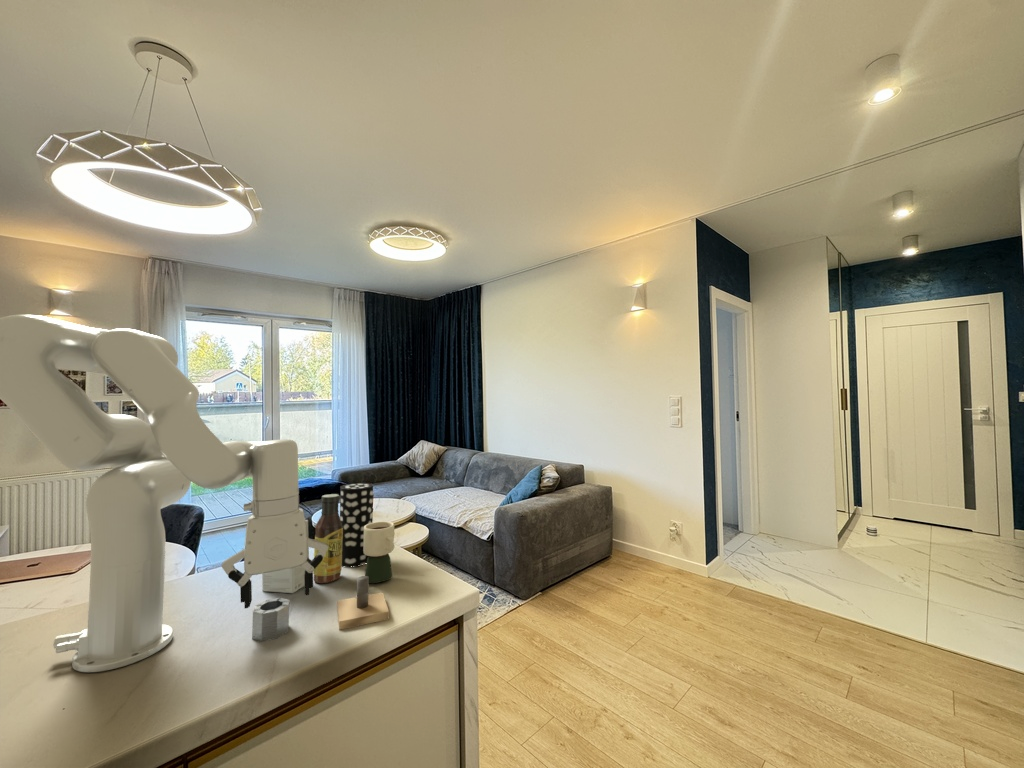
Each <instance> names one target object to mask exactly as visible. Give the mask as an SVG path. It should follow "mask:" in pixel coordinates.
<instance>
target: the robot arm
mask: <svg viewBox="0 0 1024 768" xmlns="http://www.w3.org/2000/svg"><path fill="white" fill-rule="evenodd" d="M178 362H179V355H178V353H177V350H176V348H175V347H174V346H173V345H172V344H171V343H170V342H169V340H166V339H165V338H164V337H161V336H158V335H154V334H150V333H147V332H144V331H141V330H137V329H132V328H114V329H110V330H108V329H102V328H95V327H89V326H86V325H81V324H77V323H73V322H69V321H66V320H61V319H57V318H52V317H50V316H49V317H47V316H43V315H35V314H12V315H11V314H10V315H8V316H7V315H6V316H2V317H0V400H1V401H2V403H4V404H5V405H6V406H7V407H8V408H9V409H10V410H11V411H12V412H13V413H14V414H15V415H16V416H17V417H18V418H19V420H20V421H21V422H22V423H23V424H24V425H25V426H26V428H27V429H28V430H29V431H30V432H31V433H32V434H33V435H34V437H36V439H38V441H39V442H40V443H41V444H42V445H43V446H44V448H46V449H47V451H48V452H49V453H50V454H51V455H52V456H53V457H54V458H55V459H56V461H58V463H60V464H61V465H62V466H64V467H65V468H67V469H70V470H72V471H81V472H84V471H85V472H86V471H94V470H100V469H104V468H105V469H106V468H111V469H110V470H108V471H107V472H105V473H102V474H101V475H100V476H99V477H97V479H95V480H94V482H93V483H92V484H91V486H90V487H89V489H88V492H87V494H86V497H85V499H86V500H85V509H86V510H85V511H86V513H87V514H86V515H87V519H88V524H89V530H90V571H89V572H90V574H89V592H88V593H89V594H88V614H87V616H88V617H87V628H84V629H83V630H81V631H79V632H70V633H65V634H58V635H57V636H56V637H55V638H54V641H53V649H55V653H56V654H60V653H65V652H68V651H69V652H70V651H75V653H74V655H73V656H72V660H71V661H72V662H71V666H72V668H73V669H74V670H75V671H77V672H81V673H97V672H98V673H101V672H106V671H110V670H114V669H115V670H116V669H119V668H122V667H125V666H129V665H132V664H134V663H137V662H139V661H142V660H144V659H146V658H149V657H150V656H152V655H154V654H156V653H158V652H160V651H161V650H162V649H163V648H165V647H166V646H167V645H168V644H170V643H171V641H172V639H173V637H174V628H173V627H172V626H171V625H168V624H165V623H164V622H163V619H164V618H163V617H164V598H165V597H164V596H165V594H164V593H165V575H166V574H165V573H166V572H165V568H166V542H167V541H166V539H167V538H166V528H165V524H164V521H163V518H162V512H161V509H164V508H166V507H169V506H171V505H173V504H175V503H176V502H178V501H180V500H181V499H183V498H184V496H186V494H187V493H188V491H189V489H190V486H191V483H192V484H195V485H196V486H198V487H199V488H204V489H208V490H216V489H217V490H218V489H222V488H225V487H228V486H230V485H232V484H234V483H236V482H240V481H242V480H245V479H249V478H252V500H251V501H250V502H248V503H244V504H243V512H250V513H252V515H251V516H249V517H248V518H247V523H246V529H245V537H244V549H241V550H240V551H238V552H236V553H234V554H233V555H231V556H229V558H226V559H225V560H224V561H223V562H222V564H221V568H222V570H223V571H224V573H225V574H226V575H227V577H228V578H229V580H231V581H233V582H234V583H236V584H237V586H238V587H240V603H242V604H243V603H244V609H248V608H249V607H250V606H251V604H252V601H253V600H252V599H253V598H252V597H253V596H252V592H253V591H252V589H253V587H252V586H253V585H252V580H251V578H252V576H257V575H262V574H264V573H270V572H275V571H280V570H286V569H291V568H295V567H299V566H301V567H303V568H304V569H305V574H304V578H305V586H304V596H309V595H310V589H313V588H314V574H313V571H314V569H315V568H316V567H317V566H318V565H319V564H320V563H321V561H322V560H323V557H324V555H325V553H326V551H327V549H328V544H327V543H323V542H320V541H317V540H315V538H314V539H313V538H310V537H308V538H307V528H306V521H305V520H306V517H305V513H304V510H303V508H300V495H299V494H300V489H299V486H300V485H299V450H298V444H297V442H296V441H294V440H292V439H285V438H283V439H272V440H262V441H251V440H249V441H248V440H232V441H225V442H222V441H221V440H220V439H219V438H218V437H217V436H216V435H215V433H213V432H212V431H211V429H210V428H209V427H208V425H206V424H205V422H204V421H203V419H202V417H201V416H200V413H199V410H198V406H197V405H198V399H199V397H200V396H199V395H200V394H199V389H198V388H197V387H196V385H194V384H193V382H191V380H190V379H189V378H188V377H187V376H186V375H185V374H184V373H183V372H182V371H181V370H180V369H179V368H178ZM60 370H68V371H75V372H76V371H77V372H85V373H86V372H88V373H96V374H103V375H104V374H105V375H106V376H107V377H108V378H109V379H110V380H111V381H112V382H113V383H114V384H115V385H116V386H117V387H118V388H119V389H120V390H121V392H123V393H124V394H125V395H126V396H127V397H128V399H130V400H131V401H132V402H133V403H134V405H135V406H136V407H137V408H138V409H139V410H140V411H141V412H142V413H143V414H144V415H145V416H146V418H147V419H148V422H149V423H148V422H146V421H145V420H143V419H141V418H140V417H136V416H134V415H130V414H129V415H128V414H122V413H121V414H120V413H119V414H118V413H117V414H116V413H115V414H114V413H113V414H111V413H110V414H109V413H106V412H105V411H103V410H102V409H101V408H100V407H99V406H98V405H97V404H96V403H95V402H94V401H93V400H92V399H91V398H90V396H89V395H88V394H87V393H86V391H84V389H82V388H81V387H80V386H79V385H78V384H76V383H75V382H74V381H73V380H71V379H69V378H68V377H66V376H65V375H64V374H63V373H61V371H60ZM308 547H309V548H310V549H311V548H312V549H313V550H314V549H317V550H319V552H318V554H317V555H316V556H315V557H314V556H313V558H312V559H310V557H309V558H308ZM241 560H243V562H244V563H243V568H244V572H241V571H240V570H238V569H237V568H236V567H235V564H237V563H238V562H240V561H241ZM163 623H164V624H163Z"/></svg>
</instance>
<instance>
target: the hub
mask: <svg viewBox="0 0 1024 768" xmlns="http://www.w3.org/2000/svg"><path fill="white" fill-rule="evenodd" d="M289 624H290V599H287V598H282V597H277V598H272V599H267V600H264V601H262V602H260V603H258V604H256V605H254V608H253V610H252V631H251V632H252V633H251V639H252V640H254V641H260V642H265V641H270V640H274V639H278V638H279V637H281V636H283V635H284V634H286V633H288V631H289V626H290V625H289Z"/></svg>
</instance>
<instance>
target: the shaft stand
mask: <svg viewBox="0 0 1024 768" xmlns="http://www.w3.org/2000/svg"><path fill="white" fill-rule="evenodd" d="M369 584H370V583H369V577H368V576H365V575H361V576H358V577H357V579H356V597H351V598H345V599H339V600H337V603H336V604H337V605H336V607H337V609H336V612H337V620H338V621H337V622H338V630H339V631H340V630H345V629H349V628H353V627H358V626H359V627H360V626H363V625H369V624H372V623H377V622H382V621H387V620H389V619H390V610H389V608H388V607H389V606H388V604H387V602H386V600H385V596H384V593H383V592H378V593H373V594H369V586H370V585H369Z"/></svg>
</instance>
